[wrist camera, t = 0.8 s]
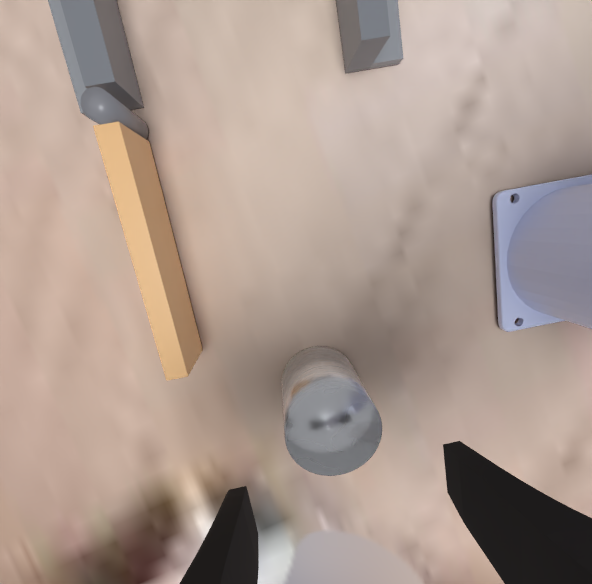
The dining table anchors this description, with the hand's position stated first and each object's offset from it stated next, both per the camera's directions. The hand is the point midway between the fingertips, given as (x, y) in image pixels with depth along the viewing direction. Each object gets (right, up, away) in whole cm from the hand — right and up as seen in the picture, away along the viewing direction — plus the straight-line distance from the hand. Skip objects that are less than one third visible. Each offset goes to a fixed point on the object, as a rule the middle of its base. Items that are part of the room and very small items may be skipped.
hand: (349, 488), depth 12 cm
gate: (-9, +10, +5) cm, 14 cm away
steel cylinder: (-1, +2, +8) cm, 8 cm away
